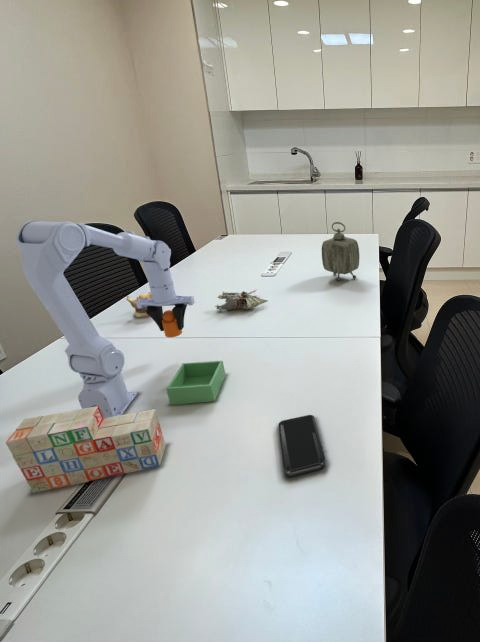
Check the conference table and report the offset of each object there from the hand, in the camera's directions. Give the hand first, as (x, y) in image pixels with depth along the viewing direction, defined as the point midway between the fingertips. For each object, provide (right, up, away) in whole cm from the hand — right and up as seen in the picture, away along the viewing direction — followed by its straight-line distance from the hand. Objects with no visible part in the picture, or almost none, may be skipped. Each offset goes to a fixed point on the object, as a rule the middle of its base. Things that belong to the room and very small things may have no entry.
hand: (172, 328), depth 110 cm
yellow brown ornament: (-26, +3, +32) cm, 41 cm away
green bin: (+13, -15, -12) cm, 23 cm away
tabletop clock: (+43, +18, +61) cm, 77 cm away
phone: (+42, -22, -31) cm, 57 cm away
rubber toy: (0, -1, +1) cm, 2 cm away
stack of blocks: (+4, -25, -35) cm, 43 cm away
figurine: (+9, +6, +35) cm, 36 cm away
